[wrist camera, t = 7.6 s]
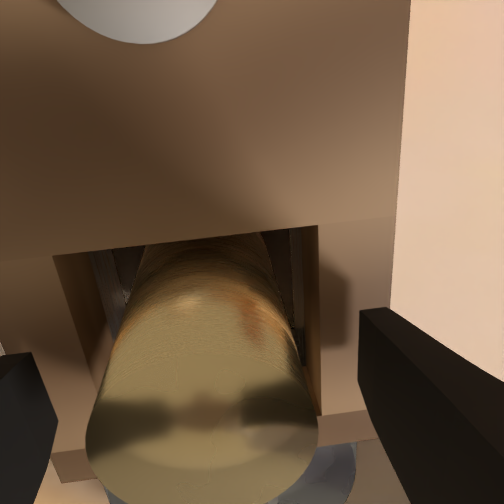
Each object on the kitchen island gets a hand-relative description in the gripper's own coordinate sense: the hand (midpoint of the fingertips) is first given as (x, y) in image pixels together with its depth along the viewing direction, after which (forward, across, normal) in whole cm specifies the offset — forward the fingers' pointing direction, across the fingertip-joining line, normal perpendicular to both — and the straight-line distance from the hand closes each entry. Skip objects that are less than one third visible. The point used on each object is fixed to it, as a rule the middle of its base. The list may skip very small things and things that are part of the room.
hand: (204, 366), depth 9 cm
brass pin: (+5, 0, 0) cm, 5 cm away
